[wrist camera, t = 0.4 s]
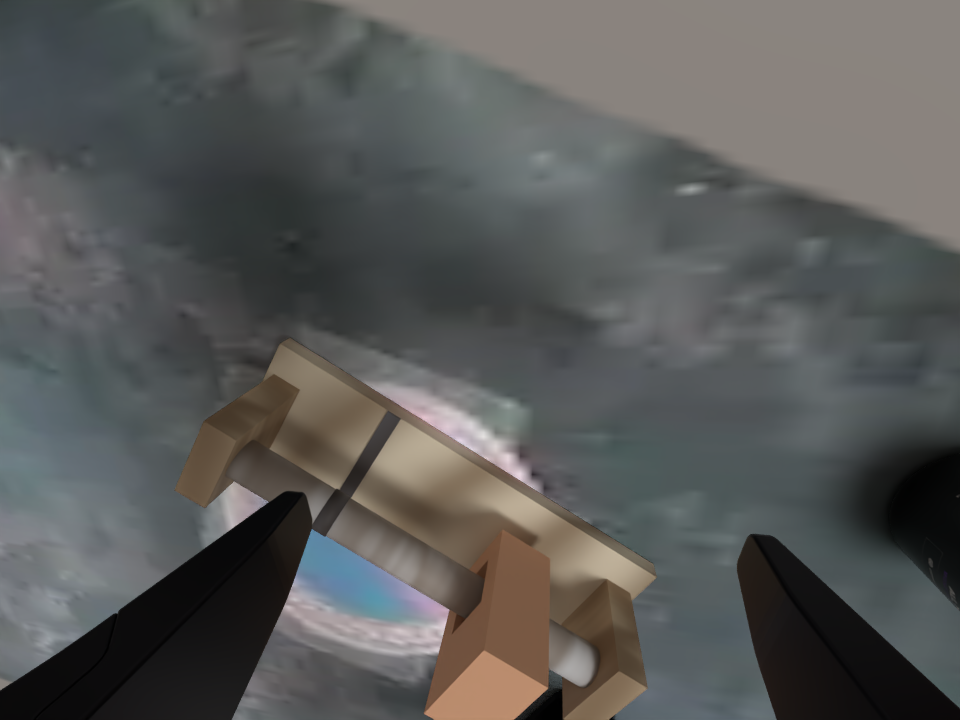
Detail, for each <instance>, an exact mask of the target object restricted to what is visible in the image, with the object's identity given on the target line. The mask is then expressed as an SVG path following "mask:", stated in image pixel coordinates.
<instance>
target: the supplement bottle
mask: <svg viewBox="0 0 960 720" xmlns="http://www.w3.org/2000/svg"><path fill="white" fill-rule="evenodd" d="M889 524H890V530H891V533H892V535H893V537H894V539H895V541H896V543H897V544H898V545H899V547H900V548H901V549H902V551H903V552H904V553H905V554H906V555H907V556H908V557H909V558H910V559H911V560H912V561H913V563H914V564H915V565H916V566H917V567H918V568H919V569H920V570H921V571H922V572H923V573H924V574H925V575H926V576H927V577H928V578H929V579H930V581H931V582H932V583H933V584H934V585H935V586H936V587H937V588H938V589H939V590H940V591H941V592H942V593H943V594H944V595H945V596H946V597H947V598H948V599H949V601H950V602H951V603H952V604H953V605H954V606H955V607H956V608H957V609H958V610H959V611H960V454H957V455H953V456H949V457H946V458H943V459H940V460H938V461H935V462H933V463H931V464H929V465H927V466H926V467H924V468H922V469H921V470H919V471H918V472H916V473H915V474H914V475H912V476H911V477H910V478H909V479H908V480H907V481H906V482H905V483H904V484H903V485H902V486H901V488H900V489H899V490H898V492H897V494H896V495H895V497H894V499H893V501H892V504H891V508H890V513H889Z"/></svg>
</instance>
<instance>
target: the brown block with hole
mask: <svg viewBox="0 0 960 720" xmlns="http://www.w3.org/2000/svg"><path fill="white" fill-rule="evenodd" d="M469 570H471V571H472V572H474V573H476V574H477V575H479V576H481V577H482V578H484V579H485V582H484V588H483V593H482V599H481V603H480V604H479V605H478V606H477V607H476V608H475V609H474V610H473V612H472V613H471V614H470V615H469V616H468V617H467V618H466V619H465V618H463V617H461V616H460V615H458V614H456V613H455V612H453V611H451V610H450V611H449V615H448V619H447V623H446V627H445V631H444V635H443V639H442V643H441V647H440V651H439V655H438V659H437V663H436V667H435V671H434V675H433V679H432V683H431V687H430V691H429V695H428V699H427V703H426V707H425V711H424V714H426V715H427V716H429V717H431V718H433V719H434V720H514V719H515V718H516V717H517V716H519V715H520V714H521V713H522V712H523V711H524V710H525V709H526V708H527V707H528V706H530V705H531V704H532V703H533V702H534V701H535V700H536V699H537V698H538V697H539V696H541V695H542V694H543V693H544V692H545V691H546V690H547V689H548V684H549V612H550V558H549V557H547V556H545V555H544V554H542V553H540V552H539V551H537V550H535V549H534V548H532V547H531V546H529V545H527V544H526V543H524V542H522V541H521V540H519V539H518V538H516V537H514V536H513V535H511V534H509V533H508V532H506V531H504V530H502V531H501V532H500V533H499V534H498V536H497V537H496V538H495V539H494V540H493V542H492V543H491V544H490V545H489V546H488V547H487V549H486V550H485V551H484V552H483V553H482V555H481V556H480V557H479V558H478V559H477V561H476V562H475V563H474V564H473V565H472V567H471V568H470V569H469Z"/></svg>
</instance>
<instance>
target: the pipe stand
mask: <svg viewBox="0 0 960 720" xmlns="http://www.w3.org/2000/svg"><path fill="white" fill-rule="evenodd" d="M234 481H235V482H236V483H238V484H240V485H241V486H243V487H245V488H246V489H248V490H250V491H251V492H253V493H255V494H257V495H258V496H260V497H262V498H263V499H265V500H267V501H268V502H270V501H271V500H273V499H274V498H276V497H277V496H278V495H280V494H281V493H283V492H285V491H299V492H304V493H305V494H306V496H307V499H308V503H309V507H310V511H311V515H312V529H313V530H315V531H316V532H318V533H320V534H321V535H323V536H327V537H329V538H330V539H332V540H334V541H335V542H337V543H339V544H340V545H342V546H344V547H345V548H347V549H349V550H351V551H352V552H354V553H356V554H357V555H359V556H361V557H362V558H364V559H366V560H367V561H369V562H371V563H372V564H374V565H376V566H377V567H379V568H381V569H382V570H384V571H386V572H387V573H389V574H391V575H393V576H394V577H396V578H398V579H399V580H401V581H403V582H404V583H406V584H408V585H409V586H411V587H413V588H414V589H416V590H418V591H419V592H421V593H423V594H424V595H426V596H428V597H429V598H431V599H433V600H434V601H436V602H438V603H440V604H441V605H443V606H445V607H446V608H448V609H450V610H451V611H453V612H455V613H456V614H458V615H460V616H461V617H463V618H465V619H466V618H467V617H468V616H469V615H470V614H471V613H472V612H473V610H474V609H475V608H476V607H477V606H478V605H479V604H480V603H481V599H482V593H483V588H484V582H485V579H484V578H482V577H481V576H479V575H477V574H476V573H474V572H472V571H471V570H469V569H470V568H471V567H472V565H473V564H474V563H475V562H476V561H477V559H478V558H479V557H480V556H481V555H482V553H483V552H484V551H485V550H486V549H487V547H488V546H489V545H490V544H491V543H492V542H493V540H494V539H495V538H496V537H497V536H498V534H499V533H500V532H501V531H502V530H504V531H506V532H508V533H509V534H511V535H513V536H514V537H516V538H518V539H519V540H521V541H522V542H524V543H526V544H527V545H529V546H531V547H532V548H534V549H535V550H537V551H539V552H540V553H542V554H544V555H545V556H547V557H549V558H550V612H549V669H550V670H552V671H554V672H555V673H557V674H559V675H560V676H562V694H563V719H564V720H609V719H610V718H611V717H613V716H614V715H615V714H616V713H618V712H619V711H620V710H621V709H623V708H624V707H625V706H626V705H628V704H629V703H630V702H631V701H633V700H634V699H635V698H636V697H638V696H639V695H640V694H641V693H643V692H644V691H645V690H646V689H648V687H647V682H646V676H645V671H644V665H643V660H642V654H641V649H640V643H639V638H638V633H637V627H636V622H635V616H634V611H633V605H632V600H633V599H634V598H635V597H636V596H637V595H638V594H640V593H641V592H642V591H643V590H644V589H645V588H646V587H647V586H648V585H649V584H650V583H651V582H653V581H654V580H655V579H656V578H657V576H656V572H655V568H654V564H652V563H651V562H649V561H648V560H646V559H644V558H643V557H641V556H640V555H638V554H636V553H635V552H633V551H632V550H630V549H628V548H627V547H625V546H624V545H622V544H620V543H619V542H617V541H615V540H614V539H612V538H611V537H609V536H607V535H606V534H604V533H603V532H601V531H599V530H598V529H596V528H595V527H593V526H591V525H590V524H588V523H587V522H585V521H583V520H582V519H580V518H579V517H577V516H575V515H574V514H572V513H571V512H569V511H567V510H566V509H564V508H562V507H561V506H559V505H558V504H556V503H554V502H553V501H551V500H550V499H548V498H546V497H545V496H543V495H542V494H540V493H538V492H537V491H535V490H534V489H532V488H530V487H529V486H527V485H526V484H524V483H522V482H521V481H519V480H518V479H516V478H514V477H513V476H511V475H509V474H508V473H506V472H505V471H503V470H501V469H500V468H498V467H497V466H495V465H493V464H492V463H490V462H489V461H487V460H485V459H484V458H482V457H481V456H479V455H477V454H476V453H474V452H473V451H471V450H469V449H468V448H466V447H465V446H463V445H461V444H460V443H458V442H457V441H455V440H453V439H452V438H450V437H448V436H447V435H445V434H444V433H442V432H440V431H439V430H437V429H436V428H434V427H432V426H431V425H429V424H428V423H426V422H424V421H423V420H421V419H420V418H418V417H416V416H415V415H413V414H412V413H410V412H408V411H407V410H405V409H404V408H402V407H400V406H399V405H397V404H395V403H394V402H392V401H391V400H389V399H387V398H386V397H384V396H383V395H381V394H379V393H378V392H376V391H375V390H373V389H371V388H370V387H368V386H367V385H365V384H363V383H362V382H360V381H359V380H357V379H355V378H354V377H352V376H351V375H349V374H347V373H346V372H344V371H342V370H341V369H339V368H338V367H336V366H334V365H333V364H331V363H330V362H328V361H326V360H325V359H323V358H322V357H320V356H318V355H317V354H315V353H314V352H312V351H310V350H309V349H307V348H306V347H304V346H302V345H301V344H299V343H298V342H296V341H294V340H293V339H291V338H289V339H287V340H285V341H284V342H282V343H280V345H279V347H278V349H277V351H276V353H275V355H274V358H273V360H272V362H271V364H270V366H269V368H268V370H267V372H266V375H265V377H264V379H263V381H262V382H261V383H260V384H258V385H257V386H255V387H254V388H252V389H251V390H250V391H248V392H247V393H245V394H244V395H242V396H241V397H239V398H238V399H236V400H235V401H233V402H232V403H230V404H229V405H227V406H226V407H224V408H223V409H221V410H220V411H218V412H217V413H215V414H214V415H212V416H211V417H209V418H208V419H206V420H205V421H204V422H203V424H202V427H201V429H200V431H199V434H198V436H197V438H196V441H195V443H194V445H193V448H192V450H191V452H190V455H189V457H188V460H187V462H186V464H185V467H184V469H183V471H182V474H181V476H180V478H179V481H178V483H177V485H176V488H175V491H177V492H178V493H180V494H182V495H183V496H185V497H187V498H188V499H190V500H192V501H194V502H195V503H197V504H199V505H200V506H202V507H204V508H206V507H207V506H208V505H209V504H210V503H211V502H212V501H213V500H214V499H215V498H216V497H218V496H219V495H220V494H221V493H222V492H223V491H224V490H225V489H226V488H227V487H228V486H229V485H231V484H232V483H233V482H234Z"/></svg>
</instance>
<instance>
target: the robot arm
mask: <svg viewBox="0 0 960 720" xmlns="http://www.w3.org/2000/svg"><path fill="white" fill-rule="evenodd" d="M311 529H312V515H311V511H310V507H309V503H308V499H307V496H306V494H305V493H304V492H299V491H285V492H283V493H281V494H280V495H278V496H277V497H276V498H274V499H273V500H271V501H270V502H269V503H267V504H266V505H264V506H263V507H262V508H260V509H259V510H257V511H256V512H255V513H253V514H252V515H251V516H249V517H248V518H246V519H245V520H244V521H242V522H241V523H239V524H238V525H237V526H235V527H234V528H232V529H231V530H230V531H228V532H227V533H226V534H224V535H223V536H221V537H220V538H219V539H217V540H216V541H214V542H213V543H212V544H210V545H209V546H207V547H206V548H205V549H203V550H202V551H201V552H199V553H198V554H196V555H195V556H194V557H192V558H191V559H189V560H188V561H187V562H185V563H184V564H182V565H181V566H180V567H178V568H177V569H176V570H174V571H173V572H171V573H170V574H169V575H167V576H166V577H164V578H163V579H162V580H160V581H159V582H157V583H156V584H155V585H153V586H152V587H151V588H149V589H148V590H146V591H145V592H144V593H142V594H141V595H139V596H138V597H137V598H135V599H134V600H132V601H131V602H130V603H128V604H127V605H126V606H124V607H123V608H121V609H120V610H119V611H118V614H117V613H115V614H113V615H111V616H110V617H109V618H107V619H106V620H104V621H103V622H102V623H100V624H99V625H98V626H96V627H95V628H93V629H92V630H90V631H89V632H88V633H86V634H85V635H83V636H82V637H80V638H79V639H78V640H76V641H75V642H73V643H72V644H70V645H69V646H68V647H66V648H65V649H63V650H62V651H60V652H59V653H57V654H56V655H54V656H53V657H51V658H50V659H48V660H47V661H45V662H44V663H42V664H40V665H39V666H37V667H36V668H34V669H33V670H31V671H30V672H28V673H27V674H25V675H24V676H22V677H21V678H19V679H17V680H16V681H14V682H13V683H11V684H10V685H8V686H6V687H5V688H3V689H2V690H0V720H232V718H233V715H234V713H235V711H236V709H237V707H238V705H239V702H240V700H241V698H242V696H243V694H244V692H245V690H246V687H247V685H248V683H249V681H250V679H251V677H252V674H253V672H254V670H255V668H256V666H257V664H258V661H259V659H260V657H261V655H262V653H263V651H264V648H265V646H266V644H267V642H268V640H269V638H270V636H271V633H272V631H273V629H274V627H275V625H276V623H277V620H278V618H279V616H280V614H281V612H282V610H283V607H284V605H285V603H286V600H287V598H288V595H289V593H290V590H291V587H292V584H293V581H294V579H295V576H296V573H297V570H298V567H299V564H300V561H301V558H302V555H303V552H304V549H305V547H306V544H307V541H308V538H309V535H310V532H311ZM737 573H738V578H739V583H740V587H741V592H742V596H743V601H744V605H745V610H746V615H747V619H748V624H749V628H750V633H751V638H752V642H753V646H754V650H755V654H756V658H757V661H758V664H759V667H760V671H761V674H762V677H763V680H764V683H765V686H766V689H767V692H768V695H769V698H770V701H771V704H772V707H773V710H774V713H775V716H776V719H777V720H960V708H959V707H958V706H957V705H955V704H954V703H953V702H952V701H951V700H950V699H949V698H948V697H947V696H946V695H945V694H944V693H942V692H941V691H940V690H939V689H938V688H937V687H936V686H935V685H934V684H933V683H932V682H931V681H930V680H928V679H927V678H926V677H925V676H924V675H923V674H922V673H921V672H920V671H919V670H918V669H917V668H916V667H914V666H913V665H912V664H911V663H910V662H909V661H908V660H907V659H906V658H905V657H904V656H903V655H902V654H900V653H899V652H898V651H897V650H896V649H895V648H894V647H893V646H892V645H891V644H890V643H889V642H887V641H886V640H885V639H884V638H883V637H882V636H881V635H880V634H879V633H878V632H877V631H876V630H875V629H873V628H872V627H871V626H870V625H869V624H868V623H867V622H866V621H865V620H864V619H863V618H862V617H861V616H859V615H858V614H857V613H856V612H855V611H854V610H853V609H852V608H851V607H850V606H849V605H848V604H846V603H845V602H844V601H843V600H842V599H841V598H840V597H839V596H838V595H837V594H836V593H835V592H834V591H832V590H831V589H830V588H829V587H828V586H827V585H826V584H825V583H824V582H823V581H822V580H821V579H820V578H818V577H817V576H816V575H815V574H814V573H813V572H812V571H811V570H810V569H809V568H808V567H807V566H806V565H804V564H803V563H802V562H801V561H800V560H799V559H798V558H797V557H796V556H795V555H794V554H793V553H791V552H790V551H789V550H788V549H787V548H786V547H785V546H784V545H783V544H782V543H781V542H780V541H779V540H777V539H776V538H775V537H773V536H770V535H761V534H750V535H749V536H748V537H747V539H746V541H745V544H744V546H743V549H742V551H741V554H740V556H739V559H738V562H737ZM526 720H564V719H563V694H562V692H557V693H555V694H554V695H553V696H552V697H551V698H549V699H548V700H547V701H546V702H545V703H544V704H543V705H542V706H540V707H539V708H538V709H537V710H536V711H535V712H534V713H533V714H532V715H530V716H529V717H528V718H527V719H526ZM609 720H610V719H609Z"/></svg>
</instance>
